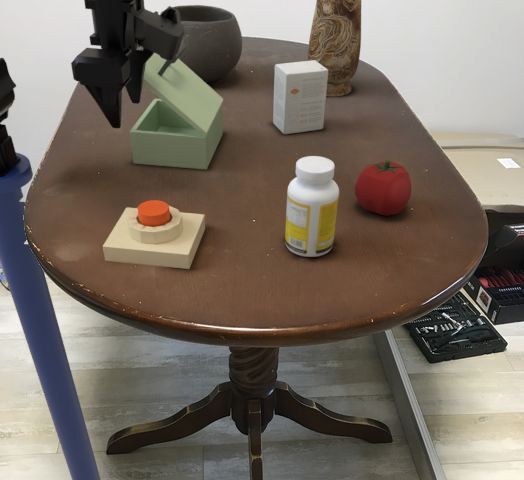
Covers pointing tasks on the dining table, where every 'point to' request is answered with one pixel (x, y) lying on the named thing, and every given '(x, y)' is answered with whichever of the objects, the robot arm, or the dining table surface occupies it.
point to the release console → (155, 240)
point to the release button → (153, 213)
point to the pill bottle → (311, 207)
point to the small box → (299, 96)
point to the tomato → (383, 188)
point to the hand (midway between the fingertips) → (126, 114)
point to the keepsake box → (173, 139)
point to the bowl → (210, 40)
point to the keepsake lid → (182, 90)
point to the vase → (336, 42)
